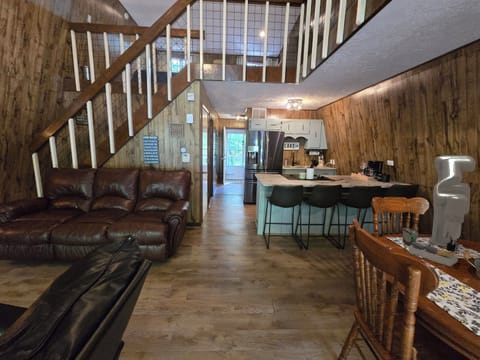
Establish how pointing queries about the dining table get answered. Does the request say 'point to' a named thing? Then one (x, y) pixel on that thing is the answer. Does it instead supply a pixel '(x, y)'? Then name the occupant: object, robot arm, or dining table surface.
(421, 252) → the grey tray
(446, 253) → the rocker
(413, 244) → the rocker
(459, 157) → the robot arm
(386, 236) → the dining table surface
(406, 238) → the food container
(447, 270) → the dining table surface
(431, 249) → the rocker
